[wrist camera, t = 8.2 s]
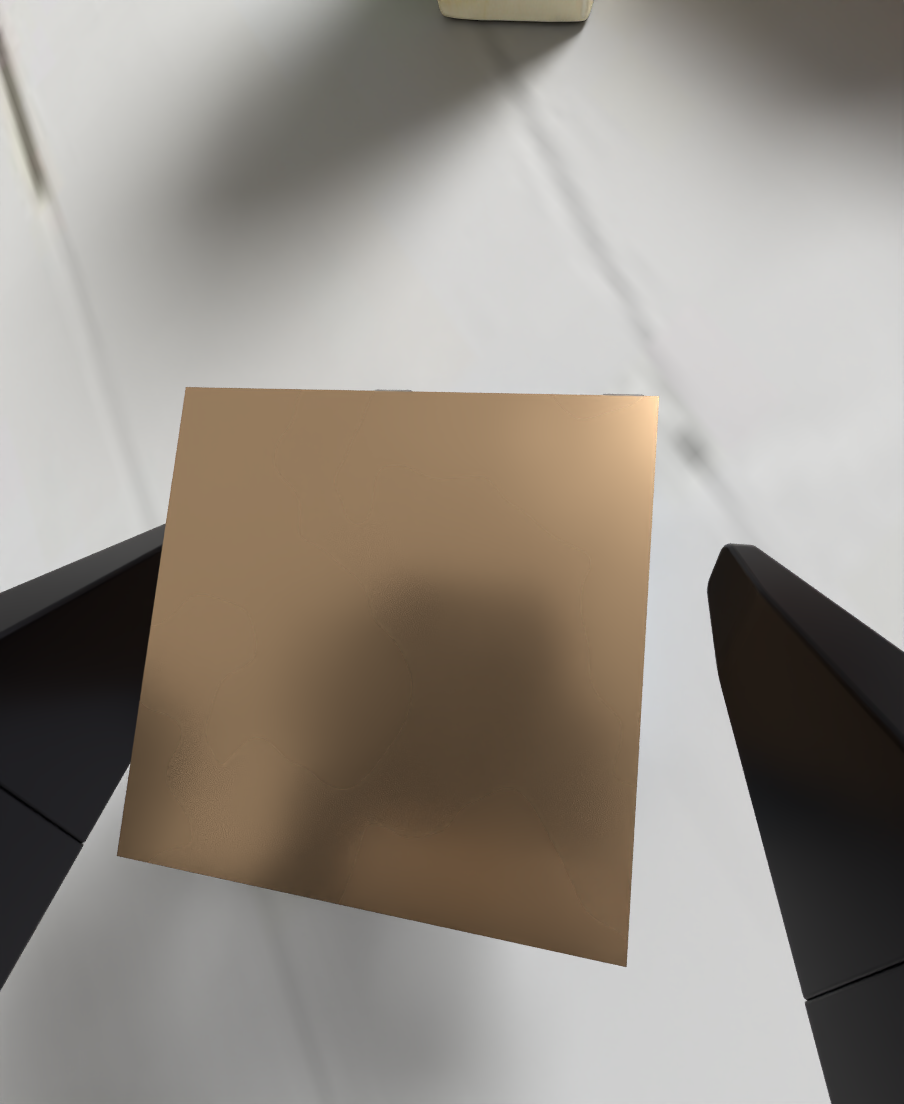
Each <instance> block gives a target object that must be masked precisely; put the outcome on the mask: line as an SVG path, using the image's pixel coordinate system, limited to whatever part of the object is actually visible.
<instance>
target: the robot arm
mask: <svg viewBox="0 0 904 1104" xmlns="http://www.w3.org/2000/svg"><path fill="white" fill-rule="evenodd" d="M165 526H166V524H163V525H161V526H159V527H156V528H154V529H152V530H149V531H147V532H144V533H142V534H140V535H137V536H135V537H132V538H130V539H128V540H125V541H123V542H121V543H118V544H116V545H113V546H111V547H109V548H106V549H104V550H101V551H99V552H97V553H94V554H92V555H90V556H87V557H85V558H82V559H80V560H78V561H75V562H73V563H70V564H68V565H66V566H63V567H61V568H59V569H56V570H54V571H51V572H49V573H47V574H44V575H42V576H39V577H37V578H35V579H32V580H30V581H28V582H25V583H23V584H20V585H18V586H16V587H13V588H11V589H8V590H6V591H4V592H1V593H0V991H1V989H2V987H3V985H4V984H5V982H6V980H7V978H8V977H9V975H10V973H11V971H12V970H13V968H14V966H15V964H16V963H17V961H18V959H19V957H20V956H21V954H22V952H23V950H24V949H25V947H26V945H27V943H28V942H29V940H30V938H31V936H32V935H33V933H34V931H35V929H36V928H37V926H38V924H39V922H40V921H41V919H42V917H43V915H44V914H45V912H46V910H47V908H48V907H49V905H50V903H51V901H52V900H53V898H54V896H55V894H56V893H57V891H58V889H59V887H60V886H61V884H62V882H63V880H64V879H65V877H66V875H67V873H68V872H69V870H70V868H71V866H72V865H73V863H74V861H75V859H76V858H77V856H78V854H79V852H80V851H81V849H82V847H83V843H84V842H85V841H86V839H87V838H88V836H89V834H90V832H91V831H92V829H93V827H94V825H95V824H96V822H97V820H98V818H99V817H100V815H101V813H102V811H103V810H104V808H105V806H106V804H107V803H108V801H109V799H110V797H111V796H112V794H113V792H114V790H115V789H116V787H117V785H118V783H119V782H120V780H121V778H122V776H123V775H124V773H125V771H126V769H127V768H128V766H129V764H130V762H131V757H132V750H133V743H134V736H135V729H136V723H137V716H138V709H139V702H140V696H141V689H142V682H143V675H144V668H145V662H146V655H147V648H148V641H149V634H150V628H151V621H152V614H153V607H154V601H155V594H156V587H157V580H158V573H159V567H160V560H161V553H162V546H163V540H164V533H165ZM707 595H708V603H709V611H710V619H711V626H712V634H713V642H714V649H715V657H716V664H717V670H718V676H719V680H720V684H721V688H722V692H723V696H724V700H725V703H726V707H727V711H728V715H729V718H730V722H731V726H732V730H733V734H734V737H735V741H736V745H737V749H738V752H739V756H740V760H741V764H742V767H743V771H744V775H745V779H746V782H747V786H748V790H749V794H750V798H751V801H752V805H753V809H754V813H755V816H756V820H757V824H758V828H759V831H760V835H761V839H762V843H763V847H764V850H765V854H766V858H767V862H768V865H769V869H770V873H771V877H772V880H773V884H774V888H775V892H776V896H777V899H778V903H779V907H780V911H781V914H782V918H783V922H784V926H785V929H786V933H787V937H788V941H789V944H790V948H791V952H792V956H793V960H794V963H795V967H796V971H797V975H798V978H799V982H800V986H801V990H802V993H803V997H804V998H805V999H806V1000H807V1001H805V1006H806V1010H807V1014H808V1018H809V1021H810V1025H811V1029H812V1033H813V1037H814V1040H815V1044H816V1048H817V1052H818V1055H819V1059H820V1063H821V1067H822V1070H823V1074H824V1078H825V1082H826V1086H827V1089H828V1093H829V1097H830V1101H831V1104H904V652H903V651H902V650H900V649H899V648H898V647H896V646H895V645H893V644H892V643H891V642H889V641H888V640H886V639H885V638H884V637H882V636H881V635H879V634H878V633H877V632H875V631H874V630H872V629H871V628H870V627H868V626H867V625H865V624H864V623H863V622H861V621H860V620H858V619H857V618H856V617H854V616H853V615H851V614H850V613H849V612H847V611H846V610H844V609H843V608H841V607H840V606H839V605H837V604H836V603H834V602H833V601H832V600H830V599H829V598H827V597H826V596H825V595H823V594H822V593H820V592H819V591H818V590H816V589H815V588H813V587H812V586H811V585H809V584H808V583H806V582H805V581H804V580H802V579H801V578H799V577H798V576H797V575H795V574H794V573H792V572H791V571H790V570H788V569H787V568H785V567H784V566H782V565H781V564H780V563H778V562H777V561H775V560H774V559H773V558H771V557H770V556H768V555H767V554H766V553H764V552H763V551H761V550H760V549H759V548H757V547H755V546H753V545H746V544H731V543H730V544H727V545H725V546H724V547H723V548H722V549H721V551H720V554H719V556H718V559H717V561H716V564H715V566H714V569H713V571H712V574H711V576H710V578H709V581H708V587H707Z"/></svg>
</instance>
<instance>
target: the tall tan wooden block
mask: <svg viewBox="0 0 904 1104" xmlns="http://www.w3.org/2000/svg"><path fill="white" fill-rule="evenodd" d="M658 405H659V396H612V395H560V394H509V393H457V392H406V391H354V390H302V389H251V388H199V387H186V390H185V397H184V404H183V411H182V417H181V424H180V431H179V438H178V445H177V451H176V458H175V465H174V472H173V478H172V485H171V492H170V499H169V506H168V512H167V519H166V526H165V533H164V540H163V546H162V553H161V560H160V567H159V573H158V580H157V587H156V594H155V601H154V607H153V614H152V621H151V628H150V634H149V641H148V648H147V655H146V662H145V668H144V675H143V682H142V689H141V696H140V702H139V709H138V716H137V723H136V729H135V736H134V743H133V750H132V757H131V763H130V770H129V777H128V784H127V791H126V797H125V804H124V811H123V818H122V824H121V831H120V838H119V845H118V852H117V856H120V857H124V858H129V859H134V860H138V861H143V862H147V863H152V864H157V865H161V866H166V867H170V868H175V869H179V870H184V871H189V872H193V873H198V874H202V875H207V876H211V877H216V878H221V879H225V880H230V881H234V882H239V883H244V884H248V885H253V886H257V887H262V888H266V889H271V890H276V891H280V892H285V893H289V894H294V895H298V896H303V897H308V898H312V899H317V900H321V901H326V902H331V903H335V904H340V905H344V906H349V907H353V908H358V909H363V910H367V911H372V912H376V913H381V914H386V915H390V916H395V917H399V918H404V919H408V920H413V921H418V922H422V923H427V924H431V925H436V926H440V927H445V928H450V929H454V930H459V931H463V932H468V933H473V934H477V935H482V936H486V937H491V938H495V939H500V940H505V941H509V942H514V943H518V944H523V945H527V946H532V947H537V948H541V949H546V950H550V951H555V952H560V953H564V954H569V955H573V956H578V957H582V958H587V959H592V960H596V961H601V962H605V963H610V964H615V965H619V966H624V967H627V949H628V931H629V914H630V896H631V879H632V861H633V844H634V826H635V809H636V791H637V774H638V756H639V738H640V721H641V703H642V686H643V668H644V651H645V633H646V616H647V598H648V581H649V563H650V545H651V528H652V510H653V493H654V475H655V458H656V440H657V423H658Z"/></svg>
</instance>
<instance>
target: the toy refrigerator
mask: <svg viewBox="0 0 904 1104" xmlns="http://www.w3.org/2000/svg"><path fill="white" fill-rule="evenodd" d="M593 1H594V0H438V4H439V8H440V11H441V13H442V15H444V16H447V17H452V18H458V19H469V20H506V21H540V22H567V21H584V20H586V19H587V18H588V16H589V14H590V11H591V8H592V4H593Z"/></svg>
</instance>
